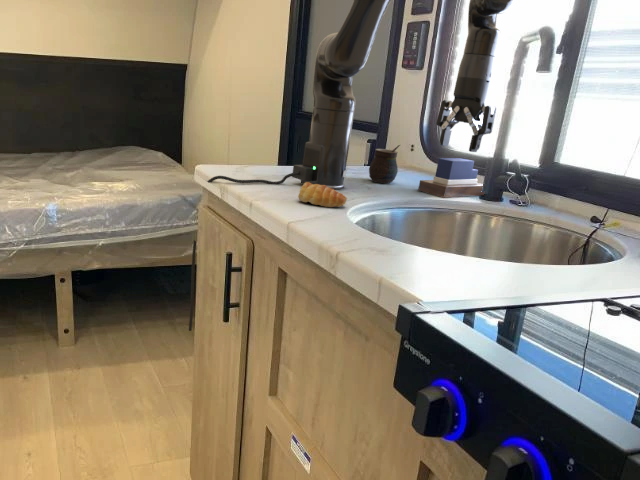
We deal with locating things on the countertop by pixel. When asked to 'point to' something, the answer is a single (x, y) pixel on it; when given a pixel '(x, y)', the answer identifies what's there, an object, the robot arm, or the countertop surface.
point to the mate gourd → (384, 166)
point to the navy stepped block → (455, 171)
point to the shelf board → (450, 189)
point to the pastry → (321, 195)
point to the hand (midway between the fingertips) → (458, 148)
